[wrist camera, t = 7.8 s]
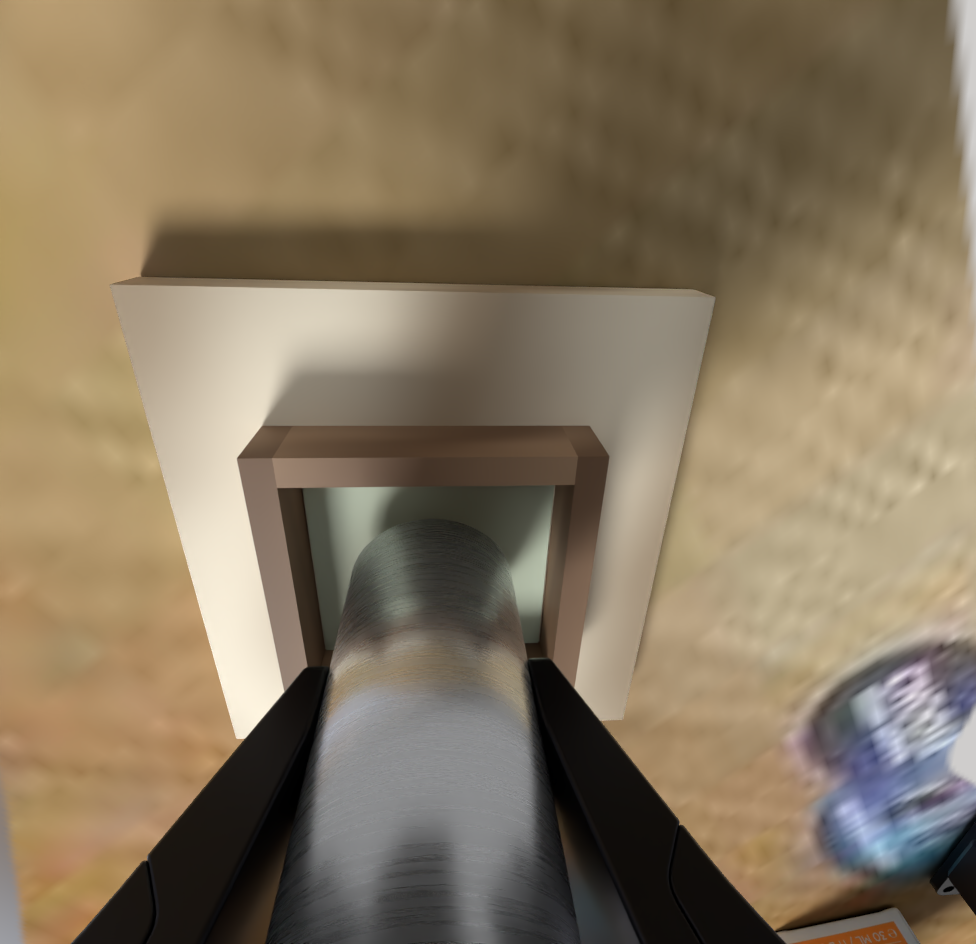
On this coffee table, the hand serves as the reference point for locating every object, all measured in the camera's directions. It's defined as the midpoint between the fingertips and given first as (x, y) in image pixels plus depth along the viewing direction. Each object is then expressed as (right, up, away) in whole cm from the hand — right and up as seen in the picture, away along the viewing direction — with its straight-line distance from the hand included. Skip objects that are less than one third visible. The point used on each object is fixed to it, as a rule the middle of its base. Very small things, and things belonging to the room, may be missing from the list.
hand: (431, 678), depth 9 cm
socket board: (0, +2, +4) cm, 4 cm away
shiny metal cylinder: (0, +1, +2) cm, 2 cm away
